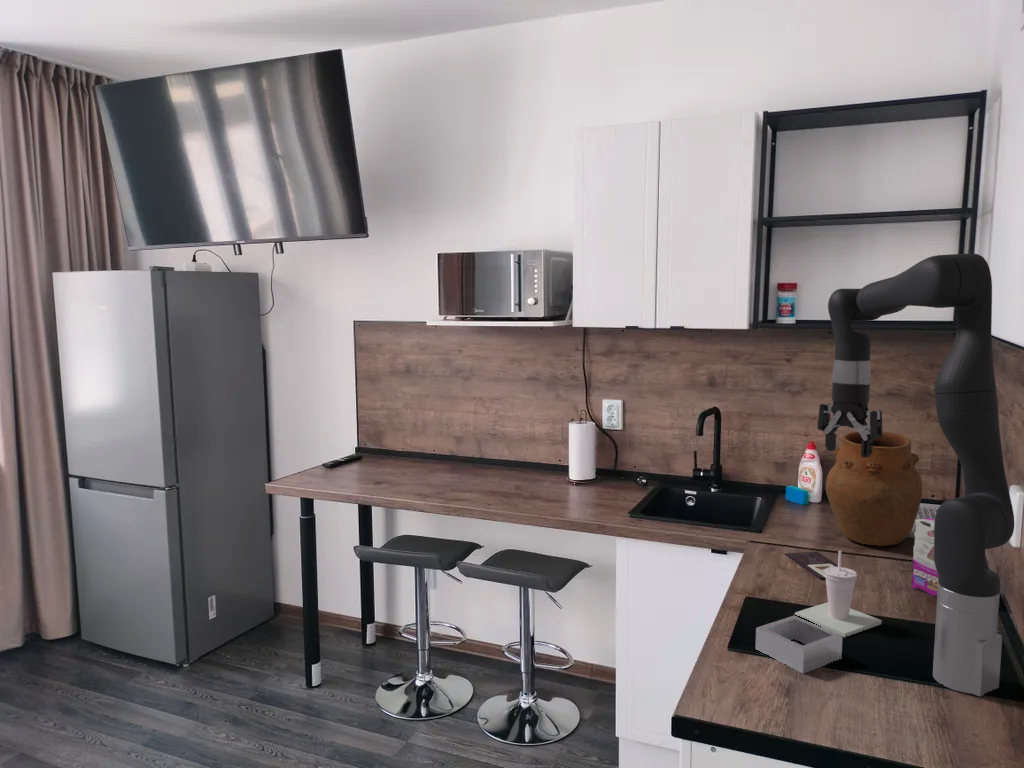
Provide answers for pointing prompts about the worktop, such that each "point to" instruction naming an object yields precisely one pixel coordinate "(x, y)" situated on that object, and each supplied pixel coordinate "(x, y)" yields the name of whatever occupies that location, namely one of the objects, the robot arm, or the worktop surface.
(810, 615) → the sage mat
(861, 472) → the pot
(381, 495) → the worktop surface
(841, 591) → the smoothie
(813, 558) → the chocolate bar
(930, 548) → the candy bar box
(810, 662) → the gray square open box
